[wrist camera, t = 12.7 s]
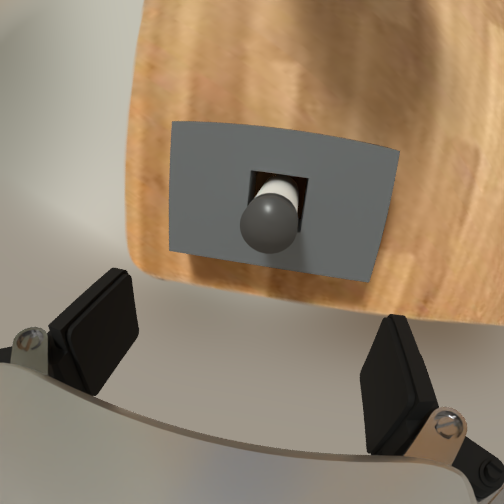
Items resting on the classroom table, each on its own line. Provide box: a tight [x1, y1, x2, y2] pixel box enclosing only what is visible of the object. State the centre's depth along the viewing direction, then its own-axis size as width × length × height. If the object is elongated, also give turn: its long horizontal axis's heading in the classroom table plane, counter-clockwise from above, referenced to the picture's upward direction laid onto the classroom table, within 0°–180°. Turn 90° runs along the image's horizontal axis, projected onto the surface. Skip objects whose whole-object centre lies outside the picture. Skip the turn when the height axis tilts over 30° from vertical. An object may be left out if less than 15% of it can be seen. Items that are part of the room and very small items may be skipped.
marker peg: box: [240, 174, 299, 254], centre depth 27 cm, size 4×4×12 cm
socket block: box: [169, 121, 400, 282], centre depth 31 cm, size 22×14×4 cm, turn 84°
